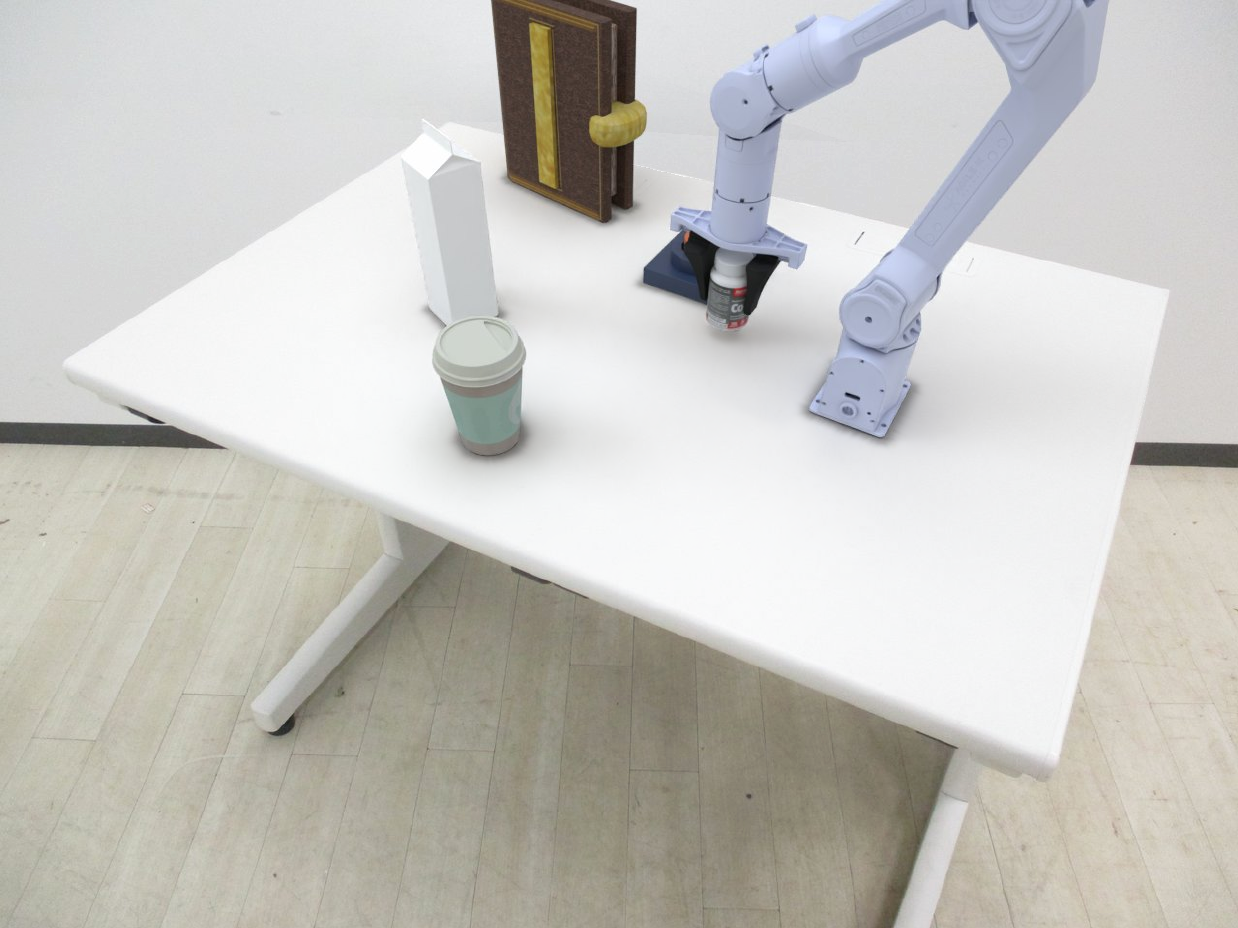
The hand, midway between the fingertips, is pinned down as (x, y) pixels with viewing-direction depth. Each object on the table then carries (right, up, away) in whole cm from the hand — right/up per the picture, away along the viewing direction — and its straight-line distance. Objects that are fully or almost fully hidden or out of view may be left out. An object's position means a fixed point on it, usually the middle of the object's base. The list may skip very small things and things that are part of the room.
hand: (728, 303), depth 93 cm
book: (-18, +20, +25) cm, 37 cm away
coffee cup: (-25, -15, -8) cm, 30 cm away
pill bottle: (0, -2, +2) cm, 3 cm away
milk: (-30, 0, +6) cm, 31 cm away
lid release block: (-2, +6, +12) cm, 14 cm away
